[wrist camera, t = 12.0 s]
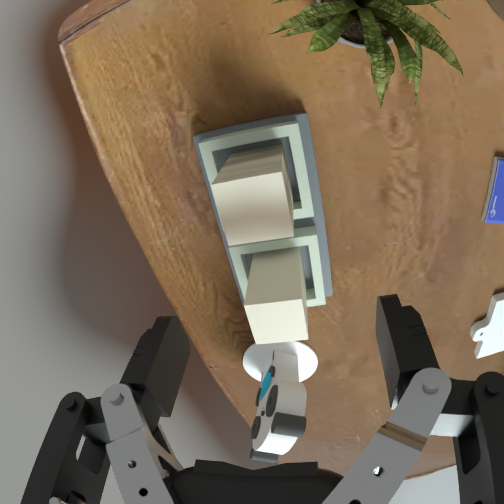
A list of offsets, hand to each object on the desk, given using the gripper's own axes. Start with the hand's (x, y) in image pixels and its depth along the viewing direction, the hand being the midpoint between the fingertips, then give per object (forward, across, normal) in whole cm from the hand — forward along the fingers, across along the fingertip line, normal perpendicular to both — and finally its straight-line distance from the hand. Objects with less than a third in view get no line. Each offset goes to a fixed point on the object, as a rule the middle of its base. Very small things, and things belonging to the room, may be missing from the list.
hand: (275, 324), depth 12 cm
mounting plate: (+23, -35, +29) cm, 51 cm away
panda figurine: (+22, +5, +29) cm, 37 cm away
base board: (+22, +2, +6) cm, 23 cm away
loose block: (+21, +2, 0) cm, 21 cm away
